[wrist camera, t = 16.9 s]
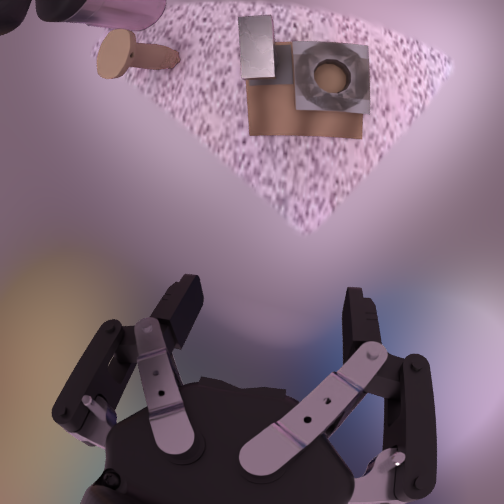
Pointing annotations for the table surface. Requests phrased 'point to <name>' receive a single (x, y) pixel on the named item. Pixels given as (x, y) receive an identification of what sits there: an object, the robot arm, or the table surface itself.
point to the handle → (131, 55)
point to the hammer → (257, 47)
